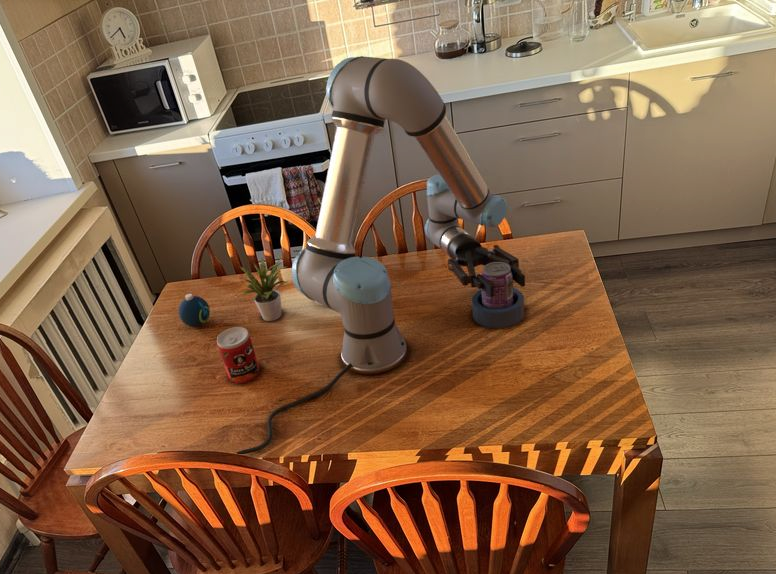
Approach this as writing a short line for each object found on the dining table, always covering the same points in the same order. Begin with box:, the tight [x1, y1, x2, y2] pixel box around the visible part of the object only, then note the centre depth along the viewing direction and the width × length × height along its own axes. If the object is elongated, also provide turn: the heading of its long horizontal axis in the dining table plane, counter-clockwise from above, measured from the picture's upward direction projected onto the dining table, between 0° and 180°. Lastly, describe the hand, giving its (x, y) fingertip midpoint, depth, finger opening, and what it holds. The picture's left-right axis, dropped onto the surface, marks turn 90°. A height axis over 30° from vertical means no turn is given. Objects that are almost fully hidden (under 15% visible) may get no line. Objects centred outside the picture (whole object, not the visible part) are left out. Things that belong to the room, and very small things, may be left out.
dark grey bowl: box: [471, 287, 525, 329], centre depth 154 cm, size 12×12×4 cm
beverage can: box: [481, 262, 514, 309], centre depth 152 cm, size 7×7×12 cm
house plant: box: [239, 257, 289, 322], centre depth 169 cm, size 14×14×16 cm
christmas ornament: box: [178, 293, 211, 328], centre depth 175 cm, size 8×8×10 cm
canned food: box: [216, 326, 260, 384], centre depth 152 cm, size 8×8×11 cm
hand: (507, 286), depth 146 cm, fingers closed on beverage can, 7 cm apart
